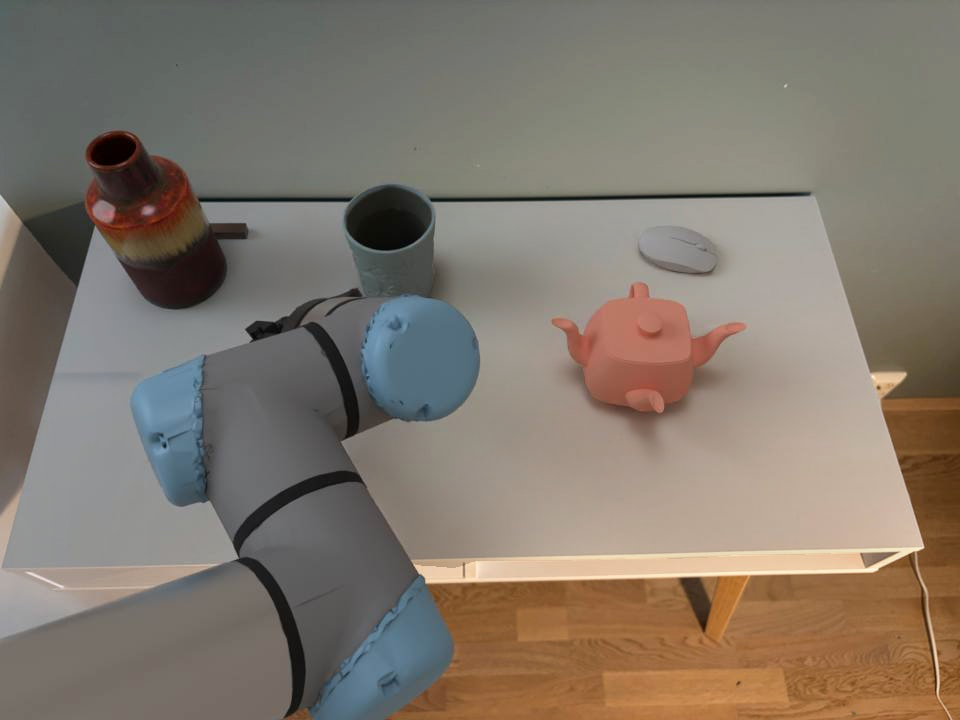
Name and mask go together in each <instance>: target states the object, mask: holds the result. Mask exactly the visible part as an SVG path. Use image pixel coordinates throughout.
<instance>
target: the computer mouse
mask: <svg viewBox="0 0 960 720" xmlns="http://www.w3.org/2000/svg"><path fill="white" fill-rule="evenodd" d="M638 247H639V249H640V251H641V253H642V254H643V256H644V257H645V258H646V259H647V260H649V261H650V262H651V263H653V264H655V265H656V266H658V267H660V268H662V269H665V270H669V271H673V272H677V273H687V274H697V273H708V272H710V271H712V270H713V269H714V267H715V266H716V264H717V259H718V251H717V246H716V245H715V244H714V243H713V242H712V241H711V240H710V239H709V238H707V237H706V236H704V235H703V234H701V233H700V232H697V231H695V230H693V229H691V228H688V227H683V226H679V225H659V226H654V227H653V226H652V227H649V228H646V229H644V230H642V231H641V232H640V233H639V236H638Z"/></svg>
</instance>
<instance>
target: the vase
mask: <svg viewBox="0 0 960 720" xmlns="http://www.w3.org/2000/svg"><path fill="white" fill-rule="evenodd" d="M84 158H85V160H86V163H87V166H88V167H89V169H90V171H91V173H92V175H93V178H92V179H91V180H90V182H89V184H88V186H87V188H86V191H85V195H84V207H85V210H86V213H87V215H88V216H89V218H90V220H91V221H92V223H93V225H94V226H95V227H96V229H97V231H98V233H99V234H100V235H101V237H102V238H103V239H104V241H105V243H106V244H107V246H108V247H109V249H110V250H111V252H112V253H113V255H114V256H115V258H116V259H117V261H118V262H119V264H120V265H121V266H122V268H123V269H124V271H125V272H126V274H127V276H128V277H129V278H130V280H131V281H132V283H133V284H134V286H135V288H136V289H137V290H138V292H139V293H140V295H141V296H142V297H143V298H144V299H145V300H146V301H147V302H149V303H151V304H152V305H154V306H156V307H159V308H163V309H169V310H171V309H172V310H178V309H185V308H189V307H193V306H195V305H198V304H200V303H202V302H204V301H206V300H207V299H208V298H210V297H211V296H212V295H213V294H215V293H216V292H217V290H219V288H220V287H221V286H222V284H223V283H224V280H225V278H226V274H227V271H228V270H227V267H228V266H227V260H226V259H227V258H226V257H225V253H224V252H223V249H222V247H221V245H220V243H219V241H218V239H216V236H215V234H214V232H213V230H212V228H211V226H210V223H211V222H209V219H208V217H207V215H206V213H205V210H204V209H203V207H202V204H201V201H200V200H199V198H198V196H197V193H196V191H195V189H194V187H193V185H192V183H191V181H190V179H189V177H188V175H187V173H186V172H185V170H184V169H183V168H182V166H180V165H179V164H178V163H177V162H175V161H173V160H172V159H170V158H167V157H166V156H165V157H164V156H162V155H161V156H160V155H155V154H149V152H148V150H147V149H146V147H145V146H144V144H143V142H142V141H141V139H140V138H139V137H138V136H137V135H136V134H134V133H133V132H130V131H128V130H118V129H117V130H110V131H107V132H104V133H101V134H99V135H98V136H96V137H95V138H93V139H92V140H91V141H90V142H89V143H88V144H87V147H86V149H85V152H84Z"/></svg>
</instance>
